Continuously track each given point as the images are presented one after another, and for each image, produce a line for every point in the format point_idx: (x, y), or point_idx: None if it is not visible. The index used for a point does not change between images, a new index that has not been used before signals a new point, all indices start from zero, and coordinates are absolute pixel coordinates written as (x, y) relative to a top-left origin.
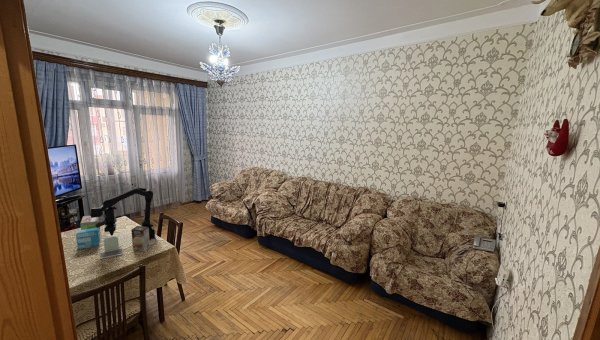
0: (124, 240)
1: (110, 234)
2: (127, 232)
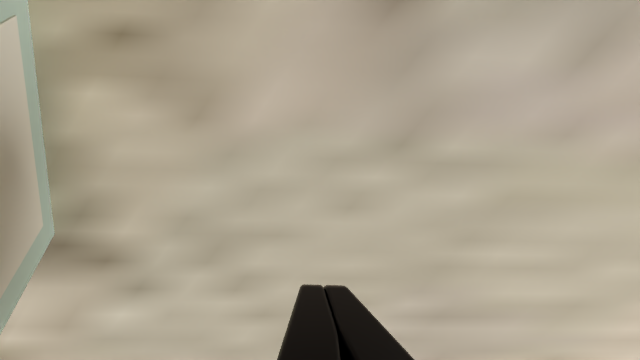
0: None
1: (291, 325)
2: (636, 347)
